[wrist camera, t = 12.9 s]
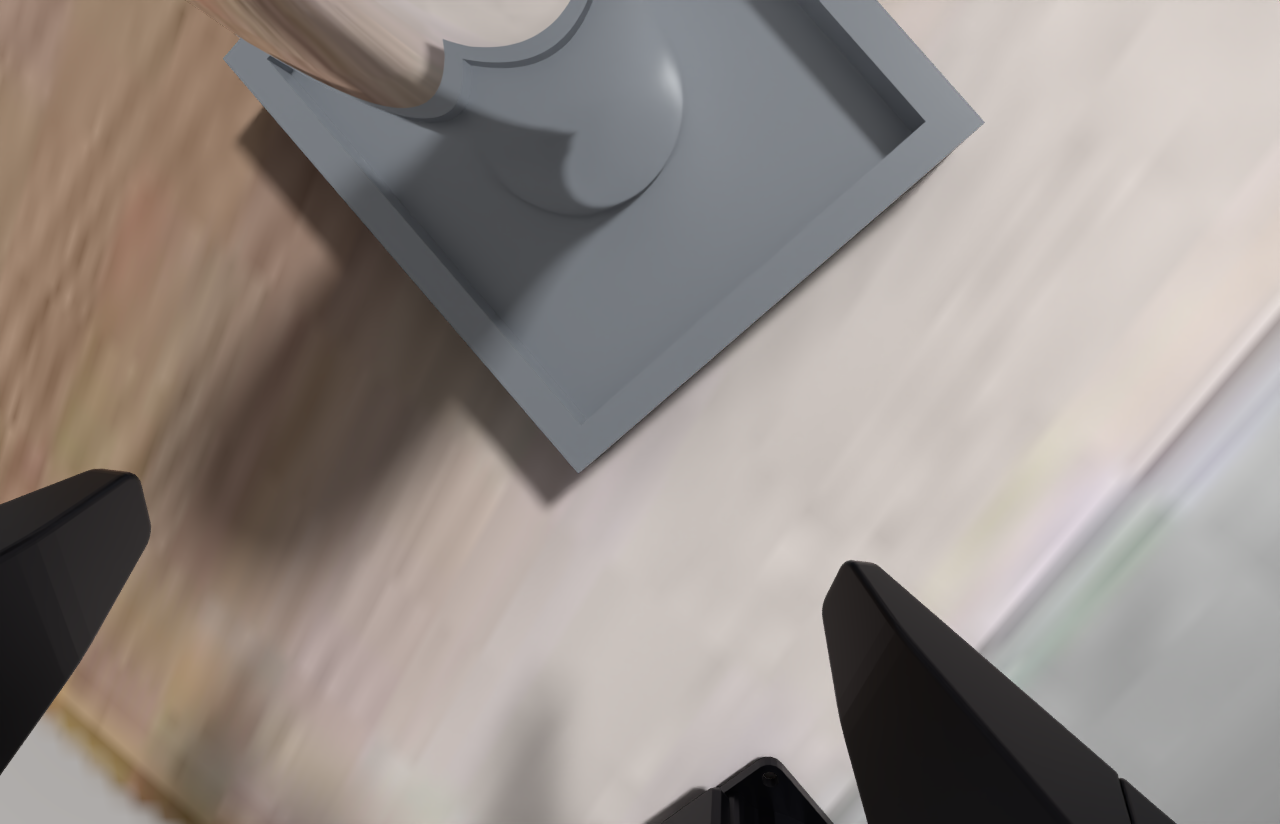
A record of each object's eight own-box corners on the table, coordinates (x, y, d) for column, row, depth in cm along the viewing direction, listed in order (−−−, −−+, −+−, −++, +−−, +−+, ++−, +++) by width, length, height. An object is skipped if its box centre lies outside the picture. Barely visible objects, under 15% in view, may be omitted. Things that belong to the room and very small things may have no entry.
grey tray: (954, 149, 18) (984, 122, 16) (594, 460, 20) (577, 473, 18) (588, -265, 18) (569, -347, 16) (275, 89, 21) (222, 58, 19)
